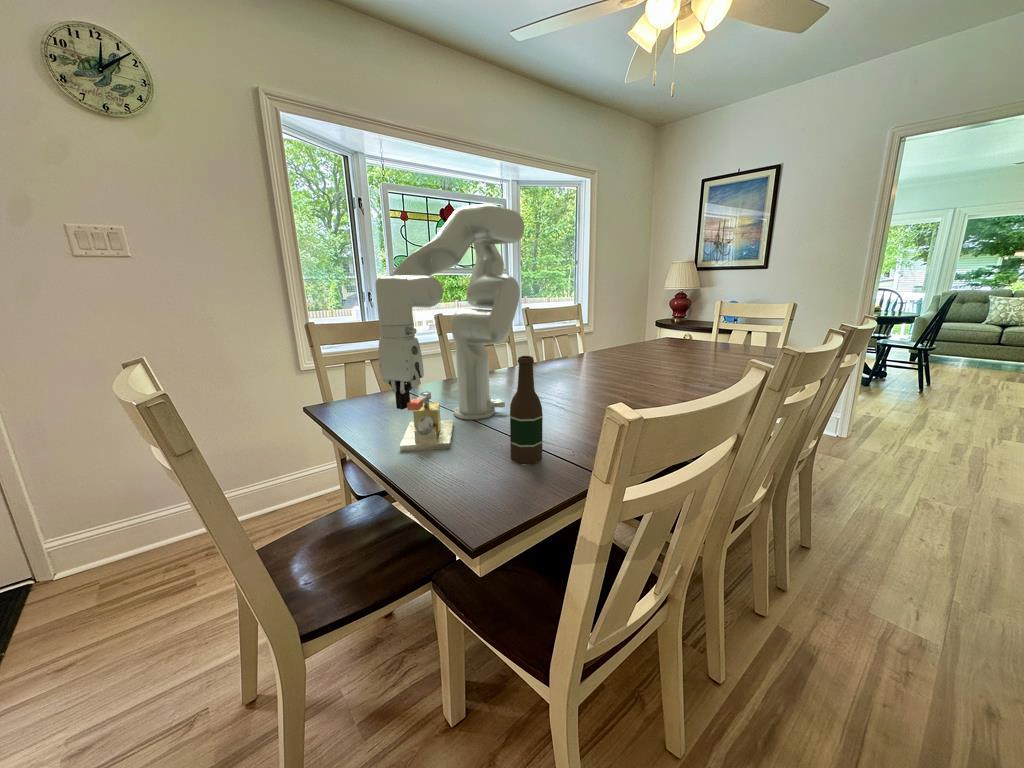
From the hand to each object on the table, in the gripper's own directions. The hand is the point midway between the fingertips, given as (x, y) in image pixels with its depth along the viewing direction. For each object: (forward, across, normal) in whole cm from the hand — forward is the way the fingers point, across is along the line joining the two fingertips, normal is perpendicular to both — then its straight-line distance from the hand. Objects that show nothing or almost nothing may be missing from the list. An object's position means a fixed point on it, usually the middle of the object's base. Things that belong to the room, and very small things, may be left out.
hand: (403, 407), depth 96 cm
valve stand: (+10, -1, -7) cm, 13 cm away
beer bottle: (+11, -29, -7) cm, 32 cm away
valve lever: (0, -2, -4) cm, 4 cm away
